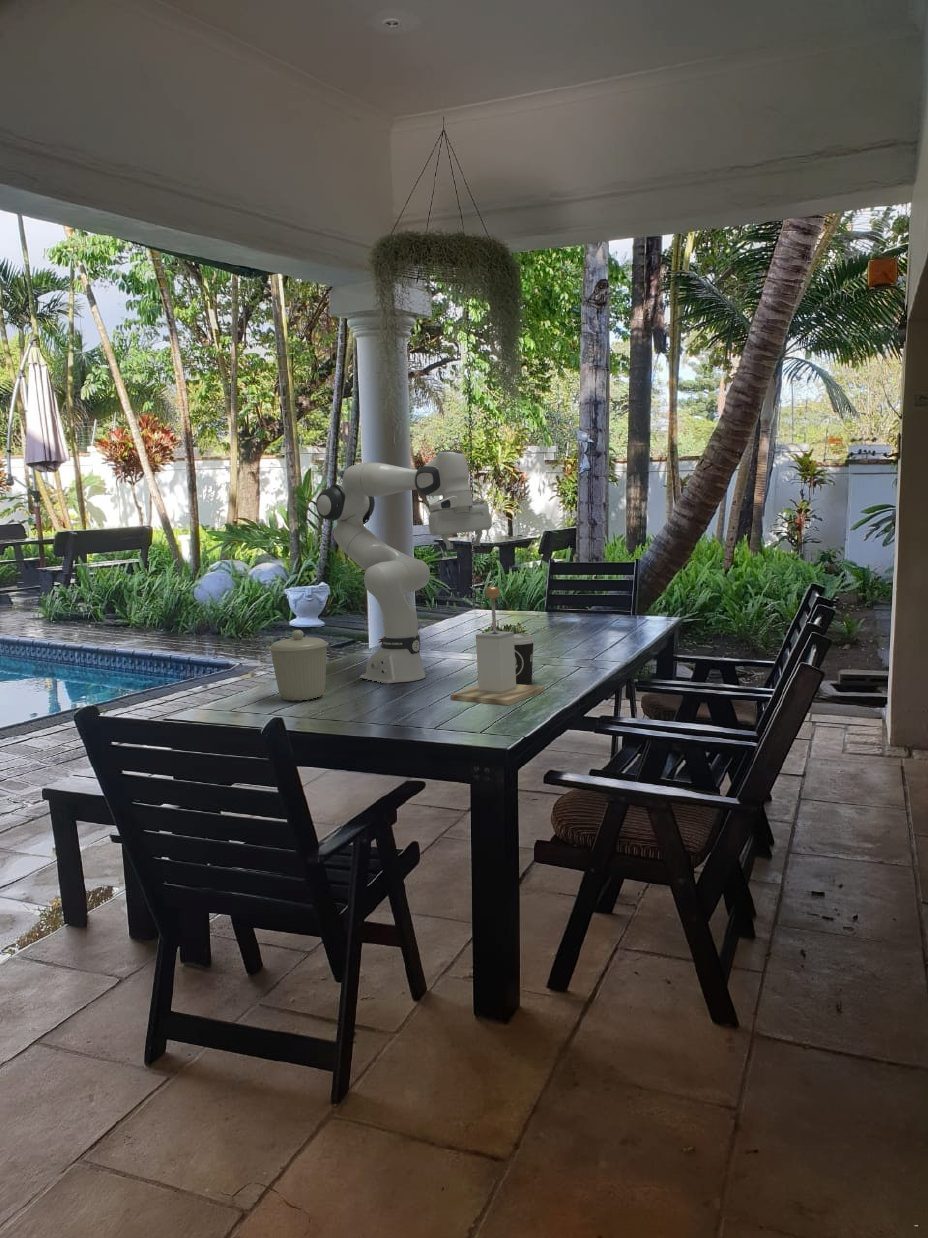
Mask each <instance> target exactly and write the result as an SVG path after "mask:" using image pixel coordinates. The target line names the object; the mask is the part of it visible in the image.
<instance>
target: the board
mask: <svg viewBox="0 0 928 1238" xmlns="http://www.w3.org/2000/svg"><path fill="white" fill-rule="evenodd" d="M544 692H545V686H544V685H543V686H542V685H531V684H528V685H521V684H516V689H515V690H512V691H509V692H507V693H504V694H493V693H482V692H479V689H478V684H477V685H475V686H471V687H469V688H466V689H464V690H460V691H457V692H454V693H450V695H449V698H450V701H457V702H458V701H460V702H470V703H477V704H478V703H479V704H491V705H499V706H511V705H514V704H515V703H518V702H520V701H524V700H526V699H528V698H531V697H533V696H536V695H539V694H542V693H544Z"/></svg>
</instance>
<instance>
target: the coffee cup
mask: <svg viewBox="0 0 928 1238" xmlns="http://www.w3.org/2000/svg"><path fill="white" fill-rule="evenodd" d="M535 642H536V640H535V637H533V635H532V633H514V650H515V671H516V684H521V685H527V684H528V685H531V684H532V683H533V665H534V664H533V663H534V661H533V658H534V644H535Z"/></svg>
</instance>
